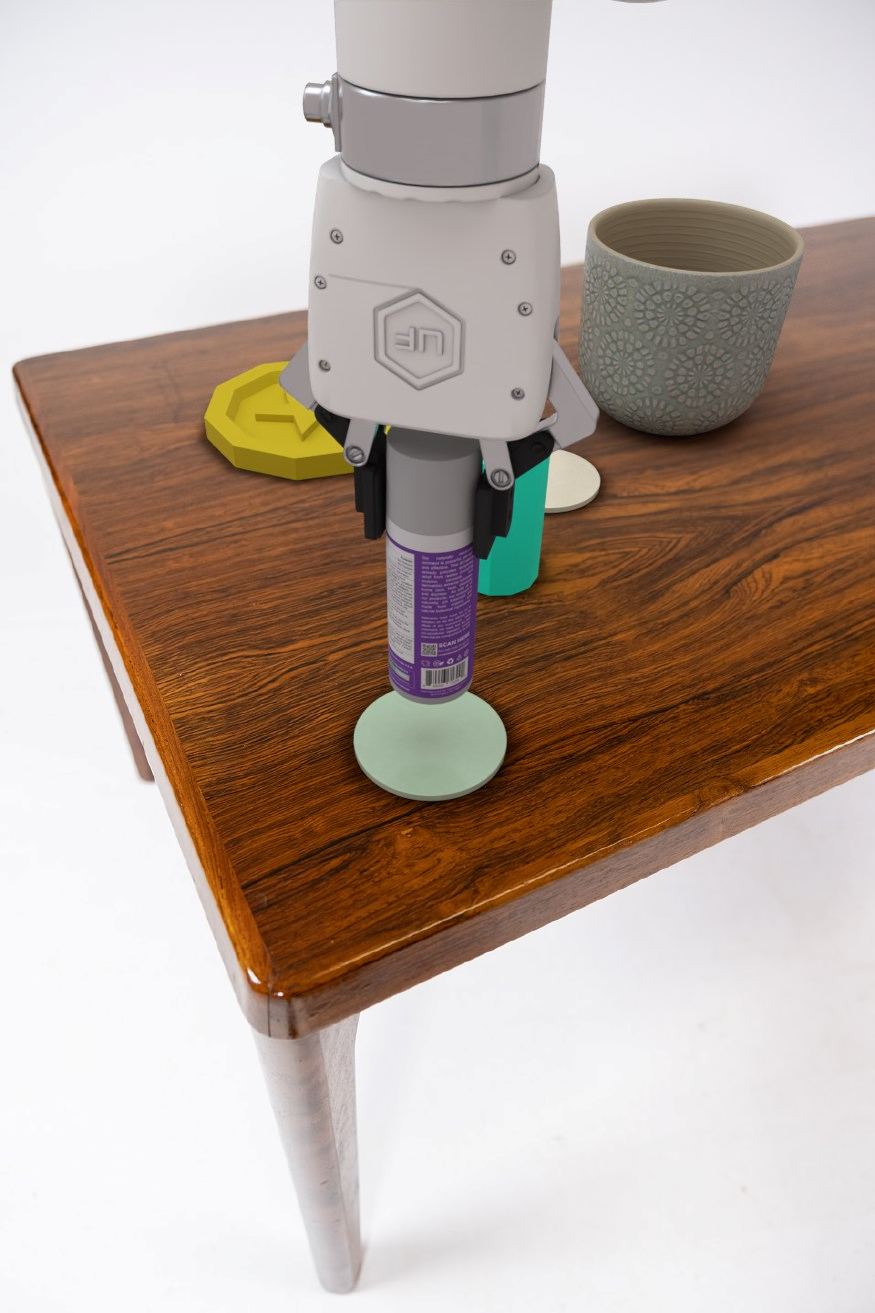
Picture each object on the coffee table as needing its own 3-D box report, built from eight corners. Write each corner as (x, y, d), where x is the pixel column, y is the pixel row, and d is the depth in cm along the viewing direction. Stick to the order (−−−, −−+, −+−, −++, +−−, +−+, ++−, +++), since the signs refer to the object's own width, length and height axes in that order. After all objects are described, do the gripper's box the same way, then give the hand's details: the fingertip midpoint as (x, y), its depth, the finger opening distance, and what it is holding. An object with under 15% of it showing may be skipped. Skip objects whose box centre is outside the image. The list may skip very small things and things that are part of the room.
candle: (443, 553, 74) (447, 403, 66) (520, 539, 75) (533, 391, 67) (470, 602, 70) (477, 449, 62) (551, 587, 71) (568, 435, 63)
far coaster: (607, 461, 84) (608, 456, 83) (590, 521, 77) (590, 516, 77) (500, 445, 85) (501, 440, 85) (475, 502, 79) (475, 497, 78)
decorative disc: (435, 460, 83) (435, 439, 82) (219, 491, 79) (216, 468, 78) (385, 370, 95) (385, 349, 94) (196, 392, 91) (193, 371, 90)
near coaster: (520, 705, 62) (521, 700, 62) (486, 816, 56) (487, 810, 55) (380, 677, 64) (380, 671, 64) (332, 782, 57) (331, 776, 57)
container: (481, 656, 57) (496, 419, 47) (461, 713, 54) (472, 470, 44) (402, 641, 58) (401, 404, 48) (377, 695, 55) (370, 453, 45)
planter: (779, 390, 93) (825, 218, 83) (731, 477, 82) (776, 290, 72) (606, 350, 99) (629, 185, 89) (539, 426, 88) (555, 247, 77)
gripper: (185, 135, 36) (242, 547, 49) (659, 184, 33) (592, 612, 46) (266, 85, 42) (299, 468, 54) (680, 123, 39) (615, 520, 51)
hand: (433, 530), depth 50 cm, fingers closed on container, 4 cm apart
